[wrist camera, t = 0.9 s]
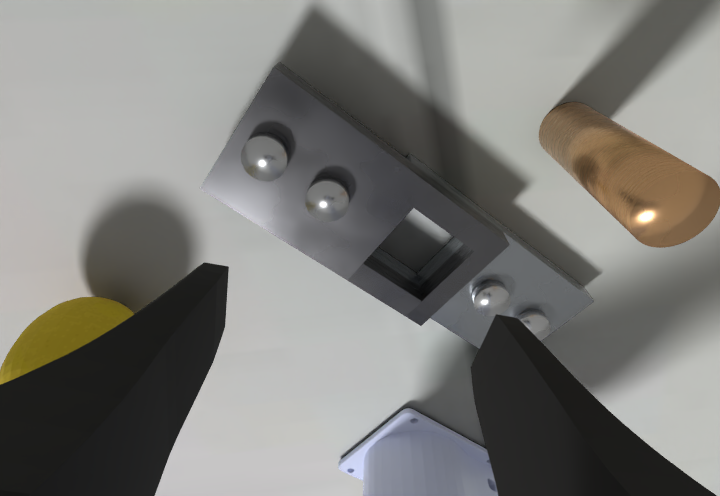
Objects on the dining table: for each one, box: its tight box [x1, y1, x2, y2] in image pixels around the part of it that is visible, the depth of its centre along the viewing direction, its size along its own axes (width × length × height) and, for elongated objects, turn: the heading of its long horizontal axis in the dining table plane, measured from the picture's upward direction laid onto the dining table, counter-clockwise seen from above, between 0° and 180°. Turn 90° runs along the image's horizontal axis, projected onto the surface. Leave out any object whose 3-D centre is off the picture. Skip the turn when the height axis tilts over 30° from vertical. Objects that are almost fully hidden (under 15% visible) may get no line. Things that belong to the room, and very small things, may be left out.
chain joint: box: [200, 62, 594, 349], centre depth 21 cm, size 19×6×3 cm, turn 53°
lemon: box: [0, 297, 134, 385], centre depth 22 cm, size 6×6×8 cm
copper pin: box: [539, 102, 720, 247], centre depth 16 cm, size 2×2×8 cm
